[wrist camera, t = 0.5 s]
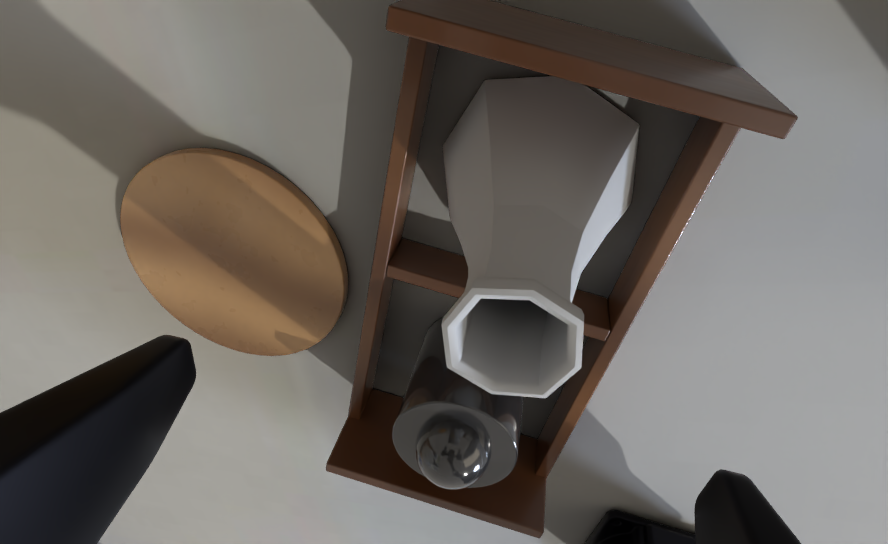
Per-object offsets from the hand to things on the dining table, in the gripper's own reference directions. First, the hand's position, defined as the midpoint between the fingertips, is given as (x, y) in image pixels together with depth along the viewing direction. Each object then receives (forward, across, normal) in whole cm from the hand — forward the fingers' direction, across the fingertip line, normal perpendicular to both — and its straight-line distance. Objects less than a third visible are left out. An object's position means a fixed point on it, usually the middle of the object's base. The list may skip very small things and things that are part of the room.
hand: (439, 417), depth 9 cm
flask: (+13, -1, +1) cm, 13 cm away
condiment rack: (+13, -1, +6) cm, 14 cm away
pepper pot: (+13, 0, +10) cm, 16 cm away
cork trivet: (+13, +11, +8) cm, 19 cm away
